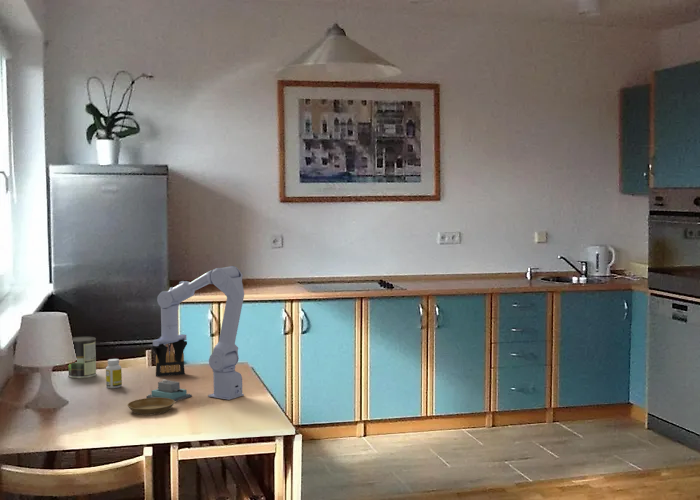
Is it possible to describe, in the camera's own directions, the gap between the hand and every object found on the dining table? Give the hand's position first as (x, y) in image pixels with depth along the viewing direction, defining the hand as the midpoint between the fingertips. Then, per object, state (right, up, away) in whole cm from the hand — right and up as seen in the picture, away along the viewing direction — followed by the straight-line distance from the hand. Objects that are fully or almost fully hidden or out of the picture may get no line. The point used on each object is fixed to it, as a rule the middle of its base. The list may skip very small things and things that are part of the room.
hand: (170, 363), depth 300 cm
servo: (+3, -10, -10) cm, 14 cm away
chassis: (+2, -10, -10) cm, 14 cm away
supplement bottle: (-21, -9, +6) cm, 24 cm away
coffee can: (-39, -8, +25) cm, 47 cm away
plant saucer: (0, -12, -27) cm, 29 cm away
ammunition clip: (-5, -8, +25) cm, 27 cm away
